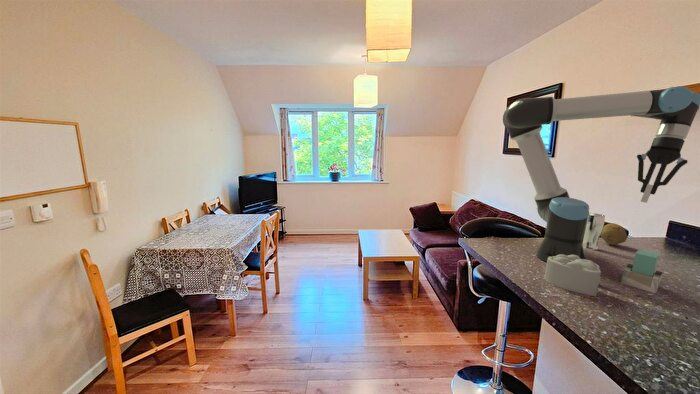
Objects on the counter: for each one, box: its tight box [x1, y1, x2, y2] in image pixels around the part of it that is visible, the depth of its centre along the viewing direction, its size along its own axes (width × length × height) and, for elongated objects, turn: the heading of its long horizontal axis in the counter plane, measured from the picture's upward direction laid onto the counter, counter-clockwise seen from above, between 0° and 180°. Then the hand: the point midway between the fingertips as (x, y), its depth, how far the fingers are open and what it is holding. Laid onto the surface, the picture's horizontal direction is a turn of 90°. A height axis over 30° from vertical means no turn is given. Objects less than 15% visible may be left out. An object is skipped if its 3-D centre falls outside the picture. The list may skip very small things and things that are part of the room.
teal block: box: [632, 249, 660, 277], centre depth 87 cm, size 6×4×10 cm
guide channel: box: [620, 263, 663, 294], centre depth 89 cm, size 16×10×6 cm, turn 128°
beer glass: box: [583, 212, 606, 251], centre depth 122 cm, size 7×7×15 cm
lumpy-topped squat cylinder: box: [543, 254, 602, 296], centre depth 89 cm, size 10×13×9 cm
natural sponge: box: [600, 222, 628, 246], centre depth 127 cm, size 9×9×10 cm
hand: (643, 202), depth 104 cm, fingers closed
